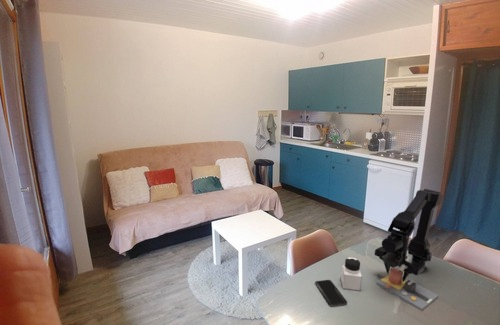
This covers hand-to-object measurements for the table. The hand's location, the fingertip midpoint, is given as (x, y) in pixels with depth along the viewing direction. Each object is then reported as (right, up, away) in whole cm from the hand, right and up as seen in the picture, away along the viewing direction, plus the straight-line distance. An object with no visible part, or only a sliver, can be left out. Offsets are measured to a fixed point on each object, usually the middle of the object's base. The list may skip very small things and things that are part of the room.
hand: (395, 277), depth 119 cm
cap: (0, -2, 0) cm, 2 cm away
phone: (-31, -5, -6) cm, 31 cm away
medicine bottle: (-20, -4, 0) cm, 20 cm away
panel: (+3, -4, -3) cm, 6 cm away
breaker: (+3, -3, -5) cm, 7 cm away
